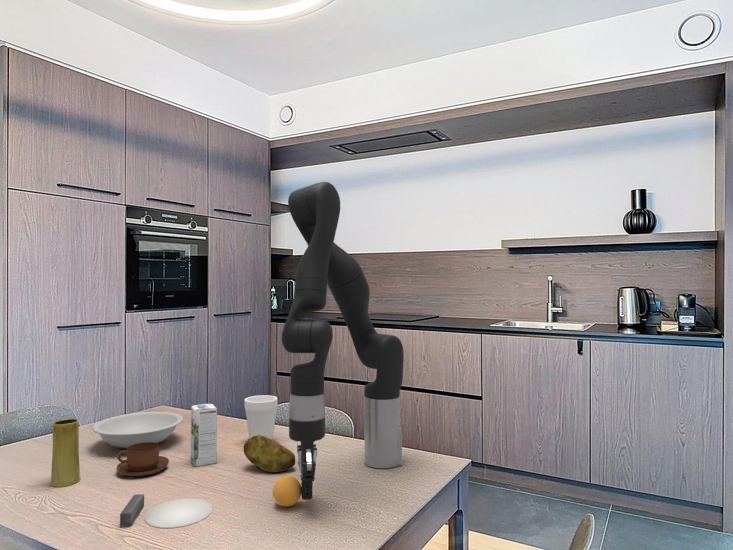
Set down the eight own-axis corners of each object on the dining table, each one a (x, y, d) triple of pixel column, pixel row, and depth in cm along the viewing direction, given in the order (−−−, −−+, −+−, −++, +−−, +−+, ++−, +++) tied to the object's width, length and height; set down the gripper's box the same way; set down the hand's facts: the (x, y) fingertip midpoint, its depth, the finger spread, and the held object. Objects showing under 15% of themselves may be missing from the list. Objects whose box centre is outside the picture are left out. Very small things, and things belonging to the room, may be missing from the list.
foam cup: (238, 443, 150) (238, 398, 150) (266, 436, 156) (266, 393, 156) (255, 451, 143) (255, 404, 143) (283, 444, 149) (283, 399, 149)
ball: (306, 479, 112) (282, 466, 111) (306, 489, 106) (280, 476, 105) (293, 504, 111) (268, 492, 111) (292, 516, 105) (266, 503, 105)
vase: (86, 479, 123) (86, 419, 123) (63, 488, 117) (64, 426, 117) (67, 476, 125) (67, 417, 125) (44, 485, 119) (44, 423, 119)
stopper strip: (144, 506, 108) (144, 494, 108) (131, 526, 99) (131, 513, 99) (134, 506, 108) (134, 494, 108) (120, 527, 99) (120, 513, 99)
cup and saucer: (115, 484, 120) (115, 457, 120) (117, 467, 131) (117, 442, 131) (169, 476, 125) (170, 450, 125) (167, 460, 136) (167, 437, 136)
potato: (277, 479, 122) (277, 446, 122) (237, 469, 129) (237, 437, 129) (299, 468, 129) (299, 436, 129) (260, 459, 136) (260, 429, 136)
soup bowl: (200, 440, 153) (200, 418, 153) (124, 465, 132) (125, 439, 133) (150, 428, 166) (150, 407, 166) (74, 449, 145) (74, 425, 145)
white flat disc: (216, 497, 112) (216, 496, 112) (207, 525, 99) (207, 524, 99) (154, 501, 110) (154, 500, 110) (136, 530, 97) (136, 529, 97)
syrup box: (189, 460, 135) (189, 405, 136) (212, 456, 138) (212, 402, 138) (194, 467, 130) (194, 410, 131) (217, 463, 133) (217, 407, 133)
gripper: (328, 422, 102) (328, 510, 102) (321, 406, 115) (321, 484, 115) (290, 424, 100) (290, 513, 100) (287, 408, 113) (287, 487, 113)
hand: (306, 498), depth 107 cm, fingers closed
